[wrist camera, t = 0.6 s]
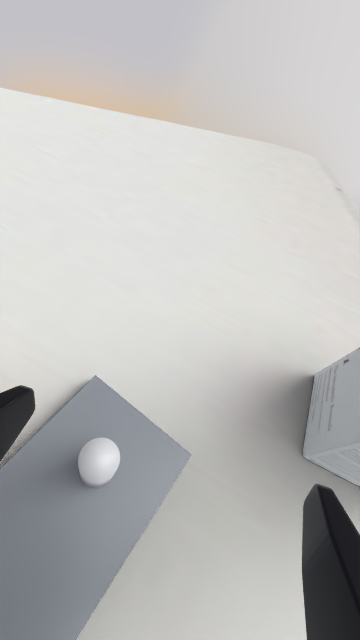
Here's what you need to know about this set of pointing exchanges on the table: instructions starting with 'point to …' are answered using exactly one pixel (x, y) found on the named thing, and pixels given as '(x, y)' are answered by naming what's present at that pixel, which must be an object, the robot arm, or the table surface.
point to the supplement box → (336, 419)
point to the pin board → (77, 510)
